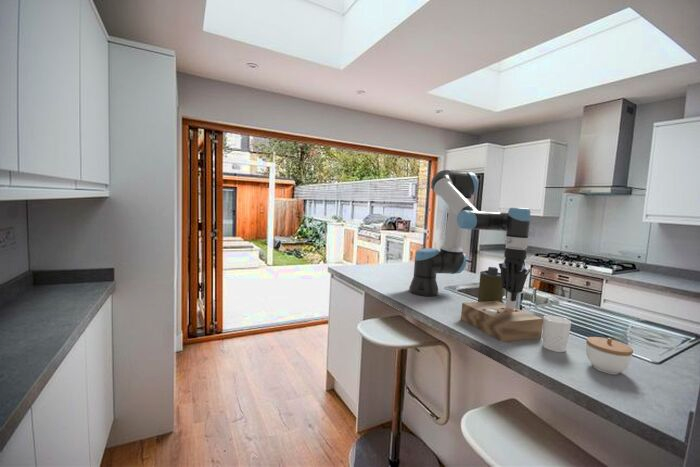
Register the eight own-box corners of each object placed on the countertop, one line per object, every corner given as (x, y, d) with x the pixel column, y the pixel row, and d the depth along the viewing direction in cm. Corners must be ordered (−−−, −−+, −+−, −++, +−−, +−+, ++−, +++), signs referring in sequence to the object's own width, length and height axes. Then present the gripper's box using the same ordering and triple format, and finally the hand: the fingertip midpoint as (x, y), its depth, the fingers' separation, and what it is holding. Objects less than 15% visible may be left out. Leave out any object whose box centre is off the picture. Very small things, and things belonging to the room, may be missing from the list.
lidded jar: (580, 367, 96) (583, 337, 95) (587, 357, 103) (590, 328, 102) (627, 383, 88) (632, 350, 87) (631, 370, 96) (635, 340, 95)
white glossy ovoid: (481, 324, 125) (483, 309, 124) (490, 323, 126) (491, 308, 125) (489, 328, 121) (491, 312, 120) (497, 327, 122) (499, 311, 122)
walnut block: (460, 319, 132) (462, 302, 132) (495, 316, 138) (496, 300, 138) (503, 341, 112) (505, 322, 111) (541, 337, 118) (543, 318, 117)
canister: (505, 315, 140) (510, 270, 139) (481, 314, 141) (486, 269, 139) (495, 308, 151) (499, 265, 150) (472, 306, 151) (476, 264, 150)
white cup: (540, 341, 114) (543, 313, 114) (567, 347, 110) (570, 318, 110) (540, 348, 108) (543, 319, 107) (568, 355, 104) (572, 325, 103)
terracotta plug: (500, 322, 128) (501, 307, 127) (507, 321, 129) (509, 306, 128) (508, 326, 124) (509, 310, 123) (516, 325, 125) (517, 310, 125)
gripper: (495, 245, 129) (489, 303, 131) (522, 250, 117) (516, 314, 118) (509, 246, 131) (504, 302, 133) (538, 250, 119) (531, 313, 121)
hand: (509, 308), depth 126 cm, fingers closed
